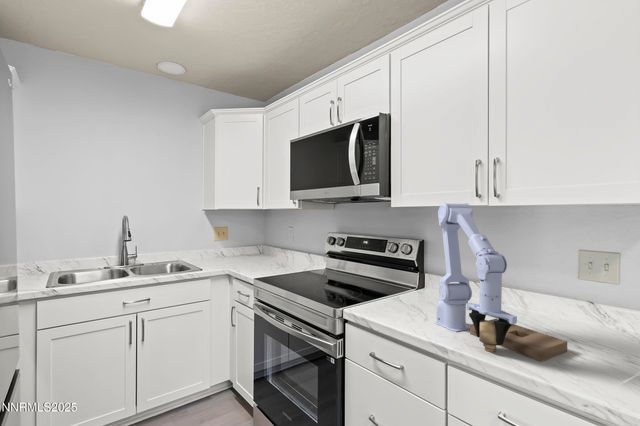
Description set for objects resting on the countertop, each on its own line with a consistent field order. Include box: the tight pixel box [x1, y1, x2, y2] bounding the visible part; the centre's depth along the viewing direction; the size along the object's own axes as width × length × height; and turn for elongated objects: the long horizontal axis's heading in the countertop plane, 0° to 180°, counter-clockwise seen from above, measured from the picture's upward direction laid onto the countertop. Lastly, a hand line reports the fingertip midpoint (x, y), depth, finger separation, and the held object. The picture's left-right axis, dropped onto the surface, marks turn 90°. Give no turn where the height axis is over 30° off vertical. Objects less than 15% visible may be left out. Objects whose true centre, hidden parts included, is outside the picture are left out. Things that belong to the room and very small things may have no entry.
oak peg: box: [478, 319, 498, 353], centre depth 95 cm, size 6×6×8 cm
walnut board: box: [469, 318, 568, 362], centre depth 101 cm, size 22×14×3 cm, turn 28°
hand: (489, 340), depth 95 cm, fingers open, 6 cm apart
